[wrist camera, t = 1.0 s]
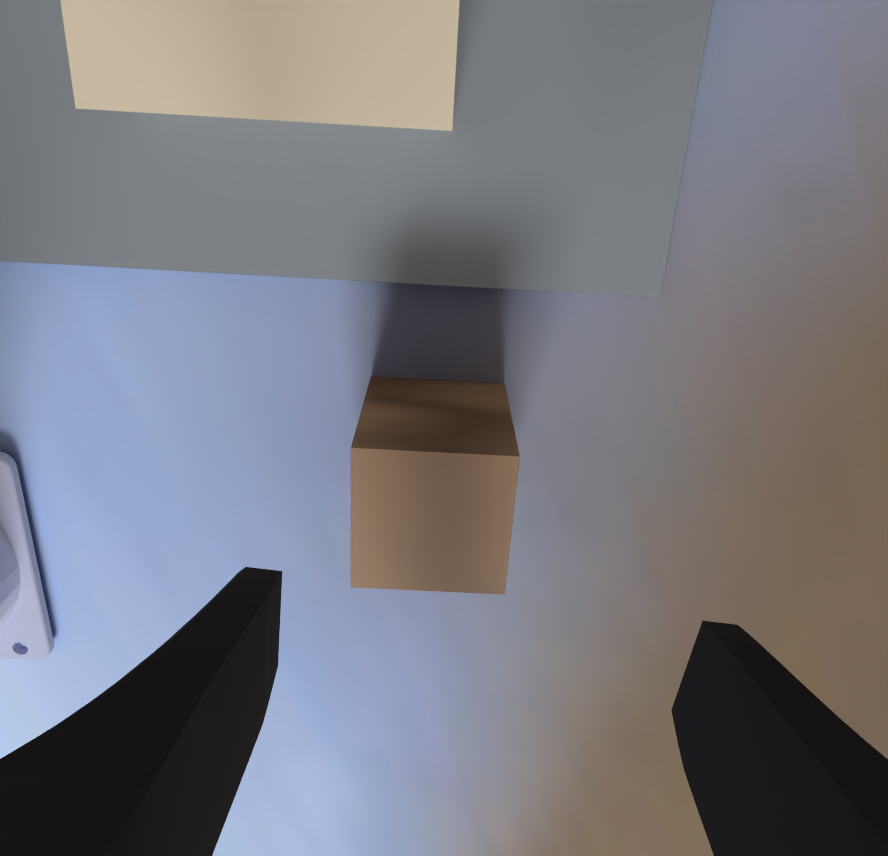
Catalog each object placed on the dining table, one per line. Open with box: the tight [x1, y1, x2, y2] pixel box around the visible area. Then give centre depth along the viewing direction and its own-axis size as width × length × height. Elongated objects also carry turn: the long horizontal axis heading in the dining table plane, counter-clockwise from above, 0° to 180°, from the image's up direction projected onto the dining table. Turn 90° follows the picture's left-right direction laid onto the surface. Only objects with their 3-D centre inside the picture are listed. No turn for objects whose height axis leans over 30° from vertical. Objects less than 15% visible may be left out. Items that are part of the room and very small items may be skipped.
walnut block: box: [351, 376, 520, 594], centre depth 20 cm, size 4×4×5 cm
